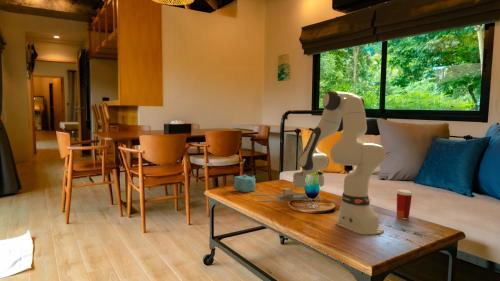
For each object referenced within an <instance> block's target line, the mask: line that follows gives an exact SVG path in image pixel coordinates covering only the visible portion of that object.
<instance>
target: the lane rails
mask: <svg viewBox="0 0 500 281" xmlns="http://www.w3.org/2000/svg"><path fill="white" fill-rule="evenodd" d="M300 194H305V192H303V193H301V192H300V193H294V194H293V195H300ZM274 195H283V193H274V194H273V193H272V194H271V193H270V194H269V196H274ZM249 196H250V197H263V196H264V197H265V196H268V194H250V195H249ZM319 200H320V201H321V198H320V197H319V198H316V199H315V201H316V202H317V201H319ZM283 201H285V202H287V201H290V202H291V201H305V202H310V201H309V199H292V200H280V199H273V200H272V199H270V200H257V201H256V202H257V203H263V202H264V203H265V202H267V203H268V202H283ZM315 201H314V202H315Z"/></svg>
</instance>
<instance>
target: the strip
mask: <svg viewBox="0 0 500 281" xmlns="http://www.w3.org/2000/svg"><path fill="white" fill-rule="evenodd" d="M320 194H321V191H319V194H318V196H317V198H320ZM273 196H274V197H275V198H277V200H291V201H293V200H292V199H308V198H307V197H306V195H305V194H300V195H294V194H293V198H284V197H283V195H273Z"/></svg>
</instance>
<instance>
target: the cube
mask: <svg viewBox="0 0 500 281" xmlns="http://www.w3.org/2000/svg"><path fill="white" fill-rule="evenodd" d="M282 194H283V197H284V198H293V195H294V194H295V191H294V189H293V188H290V187H289V188H285V187H283V188H282Z"/></svg>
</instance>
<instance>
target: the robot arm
mask: <svg viewBox="0 0 500 281" xmlns="http://www.w3.org/2000/svg"><path fill="white" fill-rule="evenodd" d="M322 105H323V108H324V109H323V111H322V115H321V117H320V120H319V123H318V124H317V126H316V127H315V128H314V129H313V130H312V131H311V134H310V136H309V138H308V140H307V143H306V144H305V147H304V148H303V151H302V153H301V154H300V157H299V159H298V163H299V166H300V168H301V171H297V172H293V175H292V177H293V179H292V186H293V187H294V188H303V189H304V191H305V178H306V175H307V174H311V173H314V172H317V173H318V174H319V185H320V187H324V185H325V177H324V171H322V170H324V169H325V168H327V167H328V166H329V162H330V160H329V156H328V155H327V153H324V152H322V151H320V149H318V145H319V143H320V142H321V141H322V140H324V139H325V138H328V137H330V136H333V135H335V134H336V133H337V132H338V130H339V128H340V125H341V123H342V135H341V137H340V139H339V140H338V141H336V142H335V143H334V144H333V146H332V147H331V149H330V152H329V153H330V154H329V155H330V159H331V160H332V162H333V163H334V164H337V165H341V166H349V167H350V166H355V167H356V168H355V169H354V171H352V172H350V173H348V174H346V176H345V177H344V180H343V192H342V195H341V201H342V202H341V204H340V207H339V211H338V217H337V220H336V222H335V224H336V225H337V226H340V227H342V228H344V229H346V230H349V231H351V232H354V233H355V234H358V235H378V234H383V233H385V230H384V228H382V227H381V226H379V223H380V222H379V217H378V214H377V213H376V212H375V211H374V210H373V208H372V207H371V204H370V203H371V202H372V201H371V200H372V199H370V196H369V194H368V193H369V185H370V184H369V183H370V179H371V177H372V175H373V173H374V171H375V170H376V169H377V168H378V167H379V166H381V165H382V164H384V163H385V160H386V159H387V153H386V150H385V148H384V146H383V145H380V144H377V143H372V142H359V141H358V140H357V139H359V138H361V137H362V136H364V135H365V134H366V133H367V130H368V125H367V124H368V123H367V116H366V115H367V114H366V110H365V98H364V97H362V96H361V95H360V94H359V95H358V94H354V93H351V92H346V91H337V90H328V91H327V92H326V93H324V95H323V98H322Z"/></svg>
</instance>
